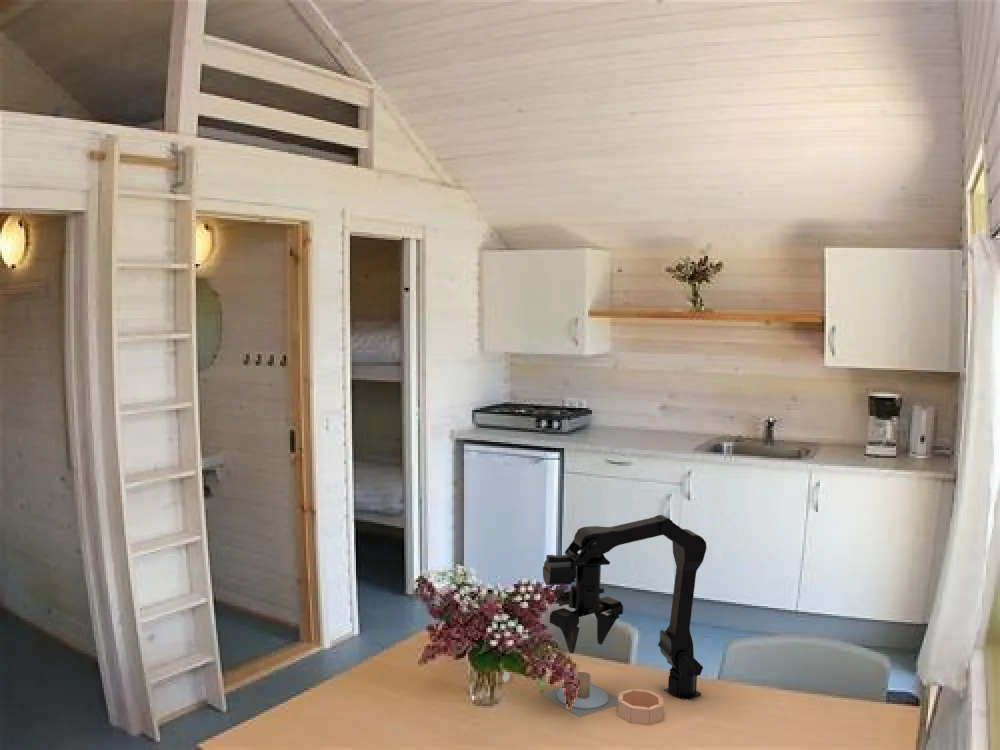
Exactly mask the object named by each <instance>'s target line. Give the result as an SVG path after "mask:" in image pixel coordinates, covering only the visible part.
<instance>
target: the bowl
mask: <svg viewBox="0 0 1000 750" xmlns="http://www.w3.org/2000/svg"><path fill="white" fill-rule="evenodd" d="M617 698H618V705H617V717H619V718H621V719H623V720H625V721H626V722H628V723H630V724H637V725H645V726H649V725H654V724H656V723H659V722H662V721H663V720H664V718H663V717H664V697H663V696H662V695H659V694H658V693H655V692H654V691H652V690H650V689H649V690H647V689H637V688H630V689H627V690H623V691H620V692H619V693H618V697H617Z"/></svg>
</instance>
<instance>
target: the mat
mask: <svg viewBox="0 0 1000 750" xmlns="http://www.w3.org/2000/svg"><path fill="white" fill-rule="evenodd" d="M590 686H593V687H597V688H599V689H601V690H603V691H605V690H604V689H602V688H600V687H598V686H597V685H594V684H593V683H592V682H590ZM559 688H560V687H559ZM559 688H555V689H552V690H549V691H548V690H547V691H545V692H542V693H540V694H541V695H542V696H544V697H545V698H547V699H549V700H550V701H552V702H553V703H555V704H557V705H558V706H560V707H562V708H563V709H565V710H566V711H567V712H569V713H571V714H572V715H575V716H577V717H578V718H582V717H584V716H587V715H590V714H591V715H592V714H593V713H597V712H600V711H602V710H603V711H604V710H606V709H609V708H612V707H617V706H618V697H617V696H615V695H613V694H611V693H609V692H608V691H605V692H606V693H607V695H608V703H607V704H606V705H605V706H603V707H600V708H597V709H588V710H586V709H576V708H570V709H567V708H566V705H564V704H562V703H561V702H560V701H559V700H558V698H557V692H558V691H559V690H560V689H559Z"/></svg>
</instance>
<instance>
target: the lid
mask: <svg viewBox="0 0 1000 750" xmlns="http://www.w3.org/2000/svg"><path fill="white" fill-rule="evenodd" d="M577 673H578V677H579V679H580V681H581V686H580V688H579V689H578V694H577V698H576V700H575V702H574V704H573V706H572V708H576V709H586V710H588V709H597V708H600V707H603V706H605V705H606V704H607V703H608V695H607V693H608V692H607V691H606V692H607V693H606V692H605V690H604V689H602V688H600V687H598V686H597V687H598V688H597V687H593V686H590V683H591V674H590V673H589V672H586V671H580V672H577ZM560 688H561V689H560V690H559V691H558V692H557V698H558V700H559V701H560V702H561V703H562V704H564V705H566V703H565V699H564V693H563V688H562V687H560ZM599 688H600V689H599ZM601 689H602V690H601ZM603 690H604V691H603Z"/></svg>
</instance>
